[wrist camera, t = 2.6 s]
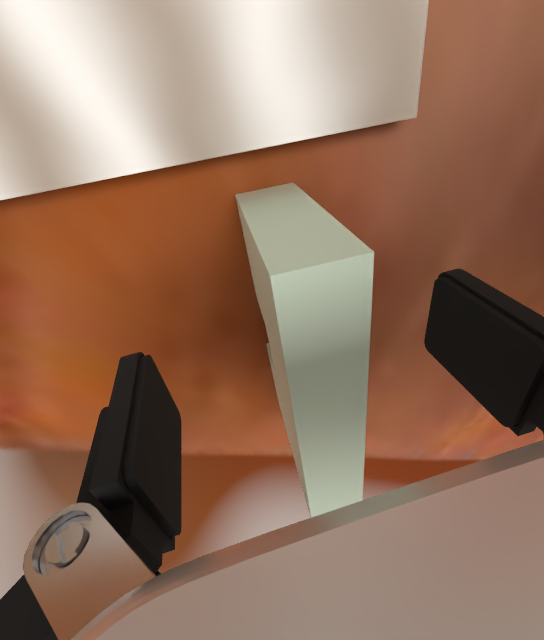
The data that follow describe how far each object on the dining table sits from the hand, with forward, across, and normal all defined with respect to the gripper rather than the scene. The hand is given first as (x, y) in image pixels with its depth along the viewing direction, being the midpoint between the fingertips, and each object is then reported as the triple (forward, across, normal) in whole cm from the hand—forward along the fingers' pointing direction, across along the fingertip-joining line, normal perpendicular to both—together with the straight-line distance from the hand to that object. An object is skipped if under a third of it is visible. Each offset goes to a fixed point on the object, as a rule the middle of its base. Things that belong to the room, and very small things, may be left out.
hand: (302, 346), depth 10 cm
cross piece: (+9, -1, +5) cm, 10 cm away
